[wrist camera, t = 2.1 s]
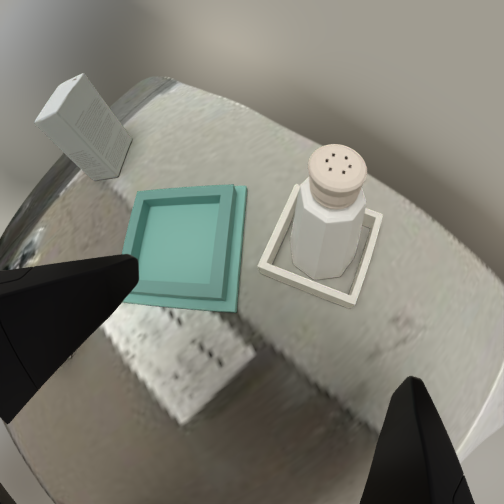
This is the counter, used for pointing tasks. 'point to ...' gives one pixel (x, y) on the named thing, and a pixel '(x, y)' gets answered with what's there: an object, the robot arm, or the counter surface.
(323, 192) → the pepper shaker
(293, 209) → the white square tray
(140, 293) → the teal square tray
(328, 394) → the counter surface
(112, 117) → the skincare box
